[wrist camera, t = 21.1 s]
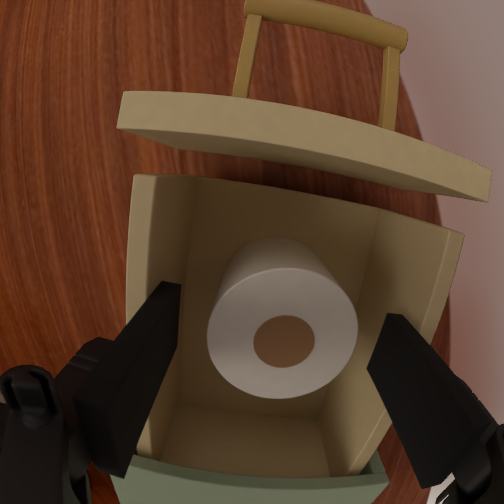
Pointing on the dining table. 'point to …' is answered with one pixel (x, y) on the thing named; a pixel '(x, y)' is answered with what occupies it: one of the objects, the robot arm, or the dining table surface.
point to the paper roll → (280, 321)
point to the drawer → (295, 227)
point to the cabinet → (243, 486)
